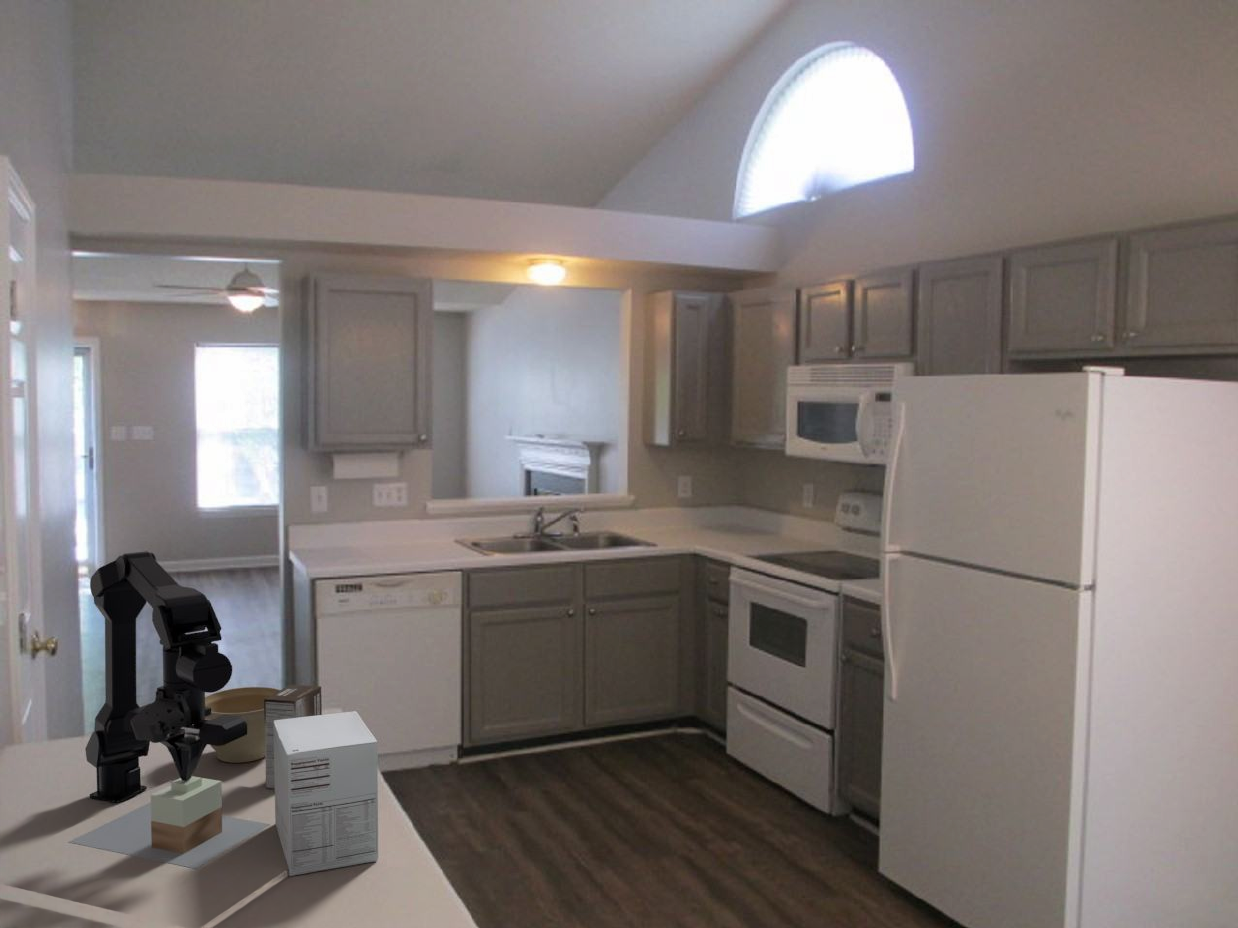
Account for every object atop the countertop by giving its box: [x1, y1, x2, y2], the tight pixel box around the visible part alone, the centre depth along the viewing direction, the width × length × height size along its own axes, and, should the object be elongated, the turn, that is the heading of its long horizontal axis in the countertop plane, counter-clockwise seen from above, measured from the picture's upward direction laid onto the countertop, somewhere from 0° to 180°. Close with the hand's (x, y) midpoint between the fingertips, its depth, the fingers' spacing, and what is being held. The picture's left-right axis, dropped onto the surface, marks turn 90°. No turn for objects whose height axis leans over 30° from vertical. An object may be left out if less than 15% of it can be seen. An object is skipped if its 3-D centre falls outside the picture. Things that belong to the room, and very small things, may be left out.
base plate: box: [68, 801, 271, 870], centre depth 157 cm, size 24×16×1 cm, turn 70°
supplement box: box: [273, 710, 379, 877], centre depth 155 cm, size 17×13×18 cm
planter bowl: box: [205, 686, 281, 764], centre depth 194 cm, size 16×16×11 cm
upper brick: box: [150, 775, 223, 827], centre depth 154 cm, size 8×6×5 cm
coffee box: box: [264, 684, 323, 790], centre depth 181 cm, size 9×6×16 cm
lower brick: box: [151, 806, 223, 854], centre depth 155 cm, size 8×6×5 cm
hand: (186, 779), depth 154 cm, fingers closed
